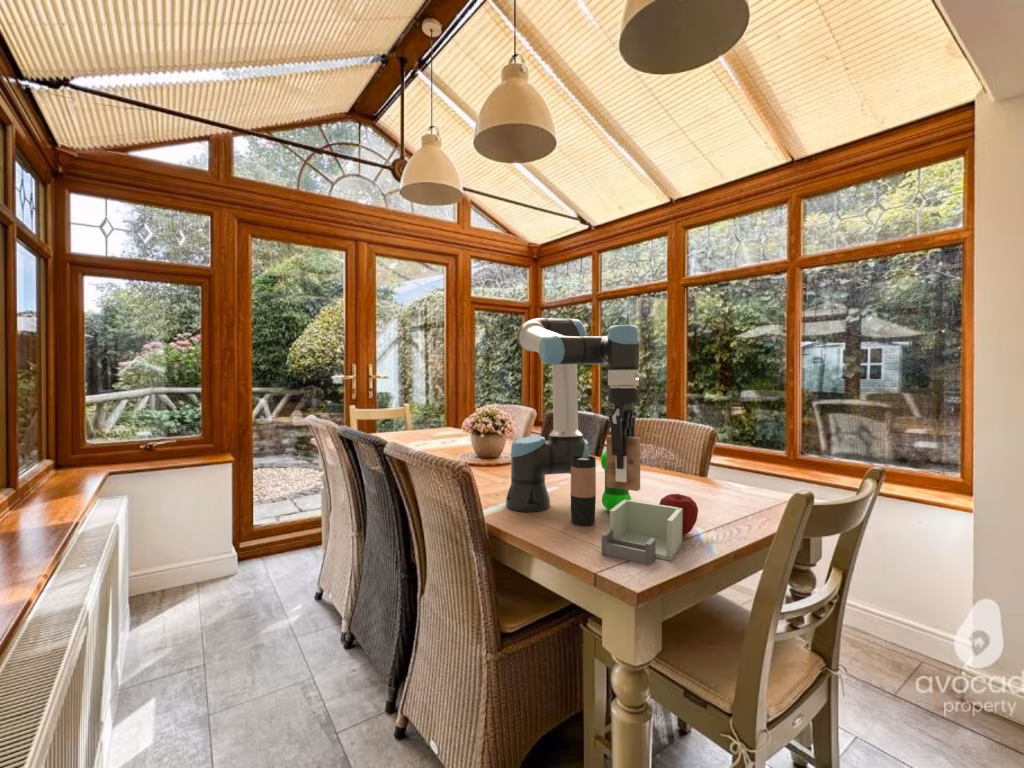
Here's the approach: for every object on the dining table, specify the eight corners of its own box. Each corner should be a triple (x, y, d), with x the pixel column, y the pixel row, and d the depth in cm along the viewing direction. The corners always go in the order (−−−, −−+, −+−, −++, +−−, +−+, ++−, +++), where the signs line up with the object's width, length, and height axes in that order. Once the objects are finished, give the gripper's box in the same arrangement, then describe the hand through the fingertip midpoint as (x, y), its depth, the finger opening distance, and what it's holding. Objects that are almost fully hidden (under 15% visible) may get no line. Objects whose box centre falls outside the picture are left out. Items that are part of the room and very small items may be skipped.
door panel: (605, 487, 119) (605, 436, 119) (609, 485, 122) (609, 435, 121) (636, 491, 115) (636, 438, 114) (640, 489, 117) (640, 437, 117)
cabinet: (601, 554, 120) (601, 515, 120) (623, 533, 134) (623, 499, 134) (666, 568, 111) (666, 527, 111) (682, 545, 126) (682, 508, 125)
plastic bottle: (613, 517, 148) (614, 439, 147) (594, 508, 158) (594, 434, 157) (638, 513, 152) (639, 437, 151) (619, 504, 162) (619, 432, 161)
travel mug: (580, 528, 139) (580, 461, 138) (565, 520, 146) (565, 456, 145) (600, 524, 143) (601, 458, 142) (585, 516, 149) (585, 454, 149)
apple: (653, 527, 140) (654, 488, 139) (689, 527, 140) (690, 488, 139) (664, 540, 129) (664, 498, 128) (703, 541, 129) (704, 499, 128)
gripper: (627, 388, 109) (627, 488, 110) (647, 386, 122) (647, 476, 123) (597, 387, 113) (597, 484, 114) (619, 386, 126) (619, 473, 127)
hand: (623, 480), depth 118 cm, fingers closed on door panel, 2 cm apart
